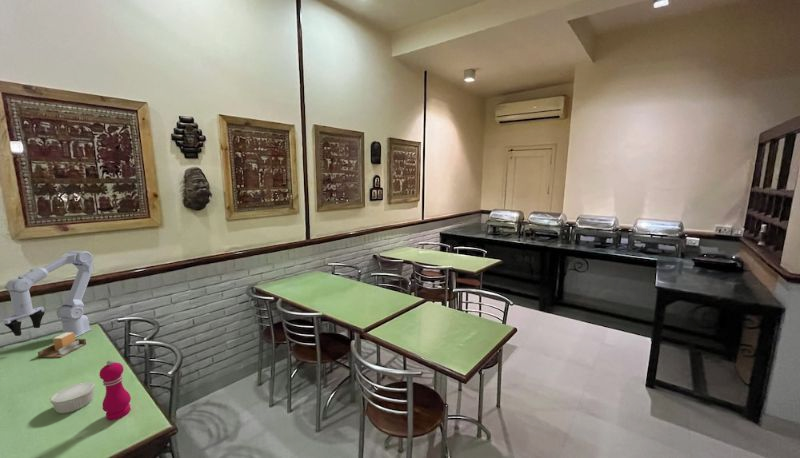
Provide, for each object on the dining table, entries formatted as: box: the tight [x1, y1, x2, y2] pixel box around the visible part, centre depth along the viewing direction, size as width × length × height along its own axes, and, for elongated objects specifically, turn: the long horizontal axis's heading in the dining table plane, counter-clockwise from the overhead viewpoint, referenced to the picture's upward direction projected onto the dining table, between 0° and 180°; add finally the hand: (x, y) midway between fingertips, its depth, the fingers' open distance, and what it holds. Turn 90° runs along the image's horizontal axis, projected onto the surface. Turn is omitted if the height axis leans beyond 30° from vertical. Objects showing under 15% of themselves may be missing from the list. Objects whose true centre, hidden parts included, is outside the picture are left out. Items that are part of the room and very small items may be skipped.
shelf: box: [37, 338, 87, 359], centre depth 151 cm, size 12×10×3 cm
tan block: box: [52, 332, 77, 351], centre depth 153 cm, size 6×4×6 cm
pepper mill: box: [99, 359, 132, 421], centre depth 108 cm, size 7×7×20 cm
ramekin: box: [49, 381, 96, 414], centre depth 114 cm, size 11×11×5 cm
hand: (27, 331), depth 150 cm, fingers open, 7 cm apart
